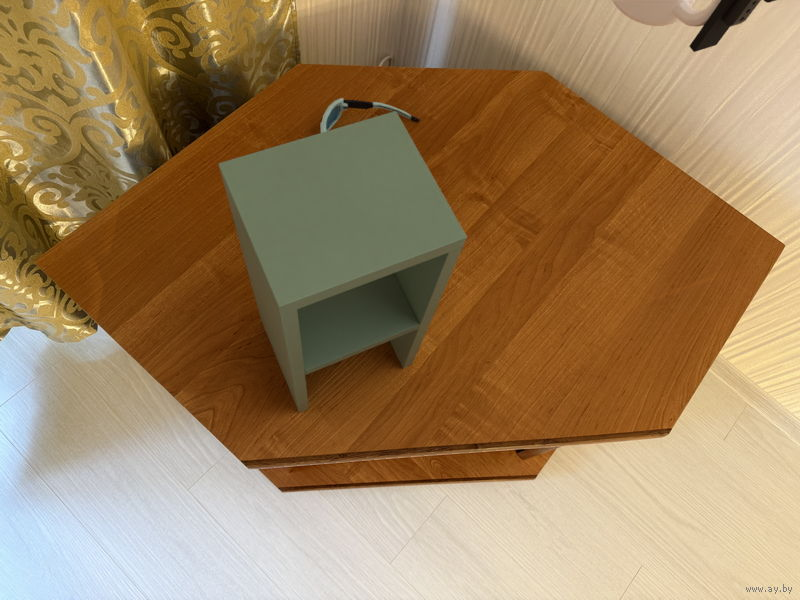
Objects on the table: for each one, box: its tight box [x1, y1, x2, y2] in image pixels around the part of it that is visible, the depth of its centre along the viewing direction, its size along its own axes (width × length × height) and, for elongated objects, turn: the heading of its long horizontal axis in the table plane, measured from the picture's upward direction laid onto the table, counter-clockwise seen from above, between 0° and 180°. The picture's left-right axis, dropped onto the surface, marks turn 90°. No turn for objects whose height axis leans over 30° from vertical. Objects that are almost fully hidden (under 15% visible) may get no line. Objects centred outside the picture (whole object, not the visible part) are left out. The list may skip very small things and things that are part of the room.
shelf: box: [218, 111, 468, 413], centre depth 56 cm, size 12×14×30 cm
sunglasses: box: [319, 97, 421, 133], centre depth 79 cm, size 14×15×5 cm
